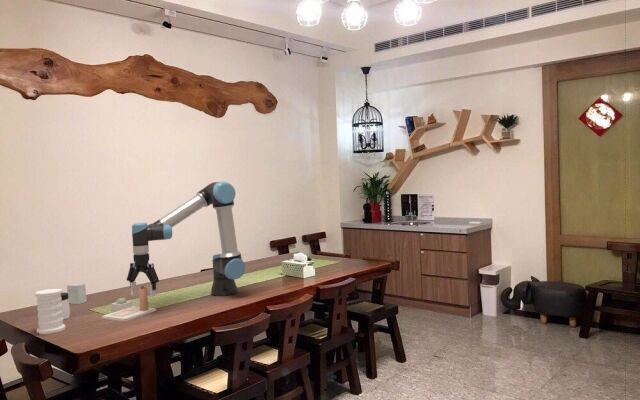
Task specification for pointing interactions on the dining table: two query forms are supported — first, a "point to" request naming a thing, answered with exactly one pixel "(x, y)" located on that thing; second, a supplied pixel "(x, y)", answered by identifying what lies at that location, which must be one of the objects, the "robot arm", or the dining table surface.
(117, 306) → the button housing
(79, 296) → the small box
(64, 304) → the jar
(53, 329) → the decorative container
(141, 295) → the marker
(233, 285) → the robot arm
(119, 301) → the button
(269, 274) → the dining table surface
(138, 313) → the board
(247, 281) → the dining table surface
